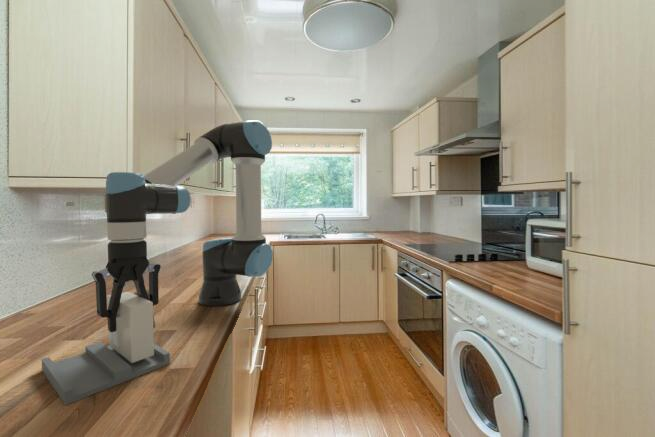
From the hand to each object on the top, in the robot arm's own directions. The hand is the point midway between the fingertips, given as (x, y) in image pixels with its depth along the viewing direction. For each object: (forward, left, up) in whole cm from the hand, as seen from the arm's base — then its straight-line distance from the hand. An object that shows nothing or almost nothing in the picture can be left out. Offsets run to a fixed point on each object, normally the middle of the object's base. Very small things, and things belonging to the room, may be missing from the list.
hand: (130, 340), depth 72 cm
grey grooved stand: (+5, 0, -4) cm, 6 cm away
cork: (-9, -17, -5) cm, 20 cm away
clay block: (0, 0, -2) cm, 2 cm away
